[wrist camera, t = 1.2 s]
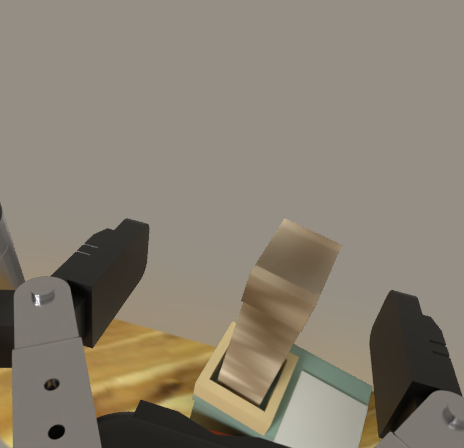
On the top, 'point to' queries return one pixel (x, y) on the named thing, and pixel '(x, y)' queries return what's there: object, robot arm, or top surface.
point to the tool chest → (287, 403)
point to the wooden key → (276, 308)
